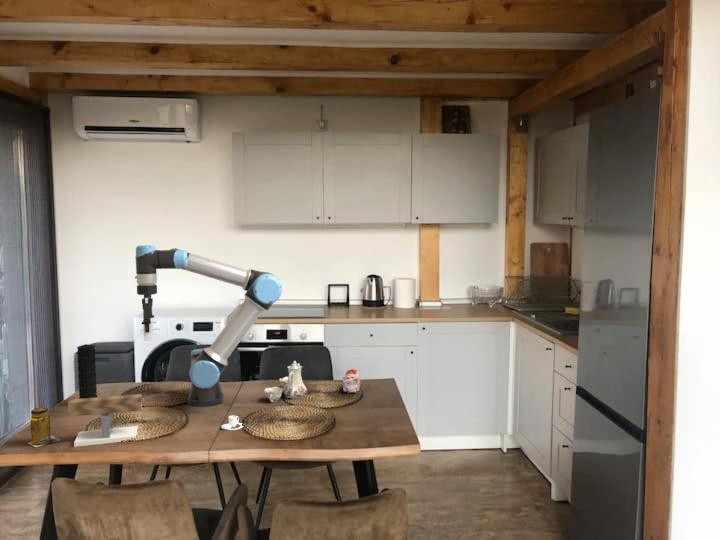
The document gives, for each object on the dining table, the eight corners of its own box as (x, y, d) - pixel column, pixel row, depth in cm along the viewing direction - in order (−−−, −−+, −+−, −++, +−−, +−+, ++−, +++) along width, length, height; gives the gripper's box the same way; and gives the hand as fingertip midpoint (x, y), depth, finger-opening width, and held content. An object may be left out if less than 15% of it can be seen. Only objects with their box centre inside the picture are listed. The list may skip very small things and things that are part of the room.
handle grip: (70, 408, 243) (91, 409, 241) (67, 346, 241) (88, 347, 239) (85, 401, 253) (106, 402, 251) (83, 341, 251) (104, 342, 249)
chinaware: (281, 390, 275) (277, 355, 274) (315, 388, 272) (311, 353, 271) (262, 408, 247) (257, 370, 246) (299, 406, 244) (295, 367, 243)
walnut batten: (142, 407, 213) (141, 394, 213) (141, 410, 210) (140, 397, 209) (70, 413, 207) (70, 399, 207) (68, 416, 203) (67, 402, 203)
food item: (360, 394, 261) (360, 373, 260) (342, 394, 261) (342, 373, 260) (360, 386, 275) (360, 365, 274) (343, 386, 275) (343, 365, 274)
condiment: (27, 443, 205) (25, 409, 204) (52, 436, 211) (50, 404, 210) (35, 448, 200) (33, 413, 199) (60, 441, 206) (59, 407, 206)
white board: (138, 429, 217) (137, 425, 217) (136, 440, 207) (136, 435, 207) (79, 435, 211) (79, 431, 211) (74, 446, 201) (74, 442, 201)
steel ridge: (112, 429, 214) (111, 408, 213) (109, 437, 205) (108, 415, 204) (104, 430, 213) (104, 408, 212) (101, 438, 204) (101, 416, 204)
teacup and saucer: (223, 432, 215) (222, 421, 214) (217, 426, 222) (217, 415, 222) (246, 428, 219) (246, 418, 218) (240, 422, 226) (240, 412, 226)
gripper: (138, 281, 241) (140, 332, 242) (134, 287, 217) (136, 343, 219) (157, 281, 243) (159, 331, 245) (155, 287, 219) (157, 342, 221)
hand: (148, 337), depth 232 cm, fingers open, 13 cm apart
